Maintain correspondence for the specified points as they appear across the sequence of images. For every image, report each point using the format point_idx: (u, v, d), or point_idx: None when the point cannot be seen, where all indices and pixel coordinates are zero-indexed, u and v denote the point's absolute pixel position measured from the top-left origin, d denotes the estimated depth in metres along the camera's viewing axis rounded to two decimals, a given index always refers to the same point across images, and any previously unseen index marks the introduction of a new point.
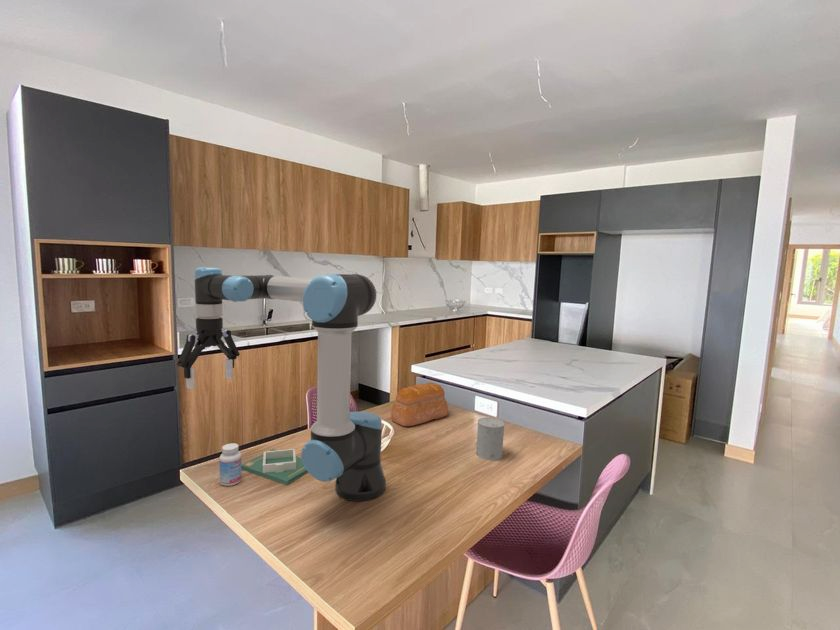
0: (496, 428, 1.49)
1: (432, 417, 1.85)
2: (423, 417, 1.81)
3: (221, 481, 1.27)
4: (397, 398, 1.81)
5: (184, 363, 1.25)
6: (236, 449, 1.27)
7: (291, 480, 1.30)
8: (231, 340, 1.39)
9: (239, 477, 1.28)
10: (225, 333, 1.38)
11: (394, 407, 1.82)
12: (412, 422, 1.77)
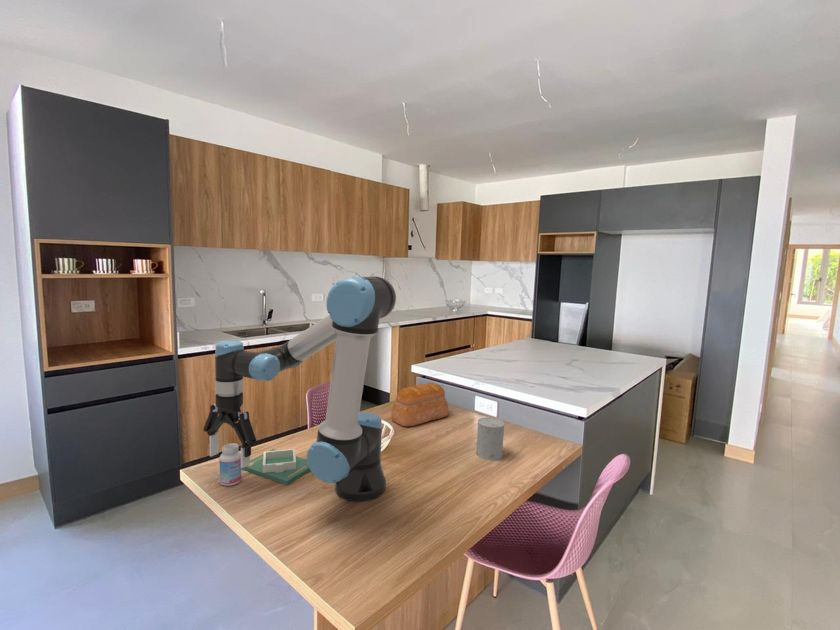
0: (496, 428, 1.49)
1: (432, 417, 1.85)
2: (423, 417, 1.80)
3: (221, 481, 1.27)
4: (397, 398, 1.81)
5: (205, 428, 1.30)
6: (236, 449, 1.27)
7: (291, 480, 1.30)
8: (242, 426, 1.23)
9: (239, 477, 1.28)
10: None
11: (394, 407, 1.82)
12: (412, 423, 1.77)
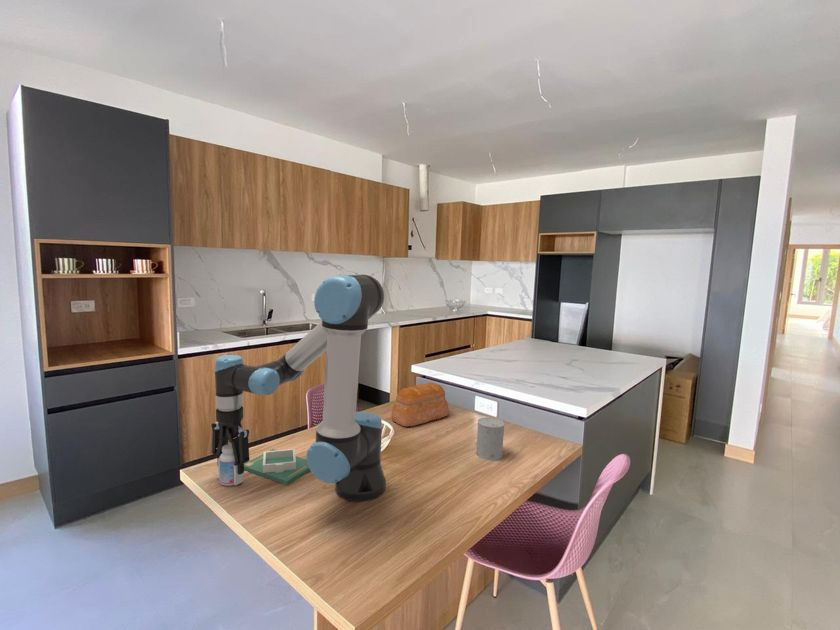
0: (496, 428, 1.49)
1: (433, 417, 1.84)
2: (423, 417, 1.80)
3: (221, 481, 1.27)
4: (397, 398, 1.80)
5: (213, 450, 1.30)
6: None
7: (291, 480, 1.30)
8: (240, 443, 1.24)
9: None
10: None
11: (394, 407, 1.81)
12: (413, 423, 1.77)
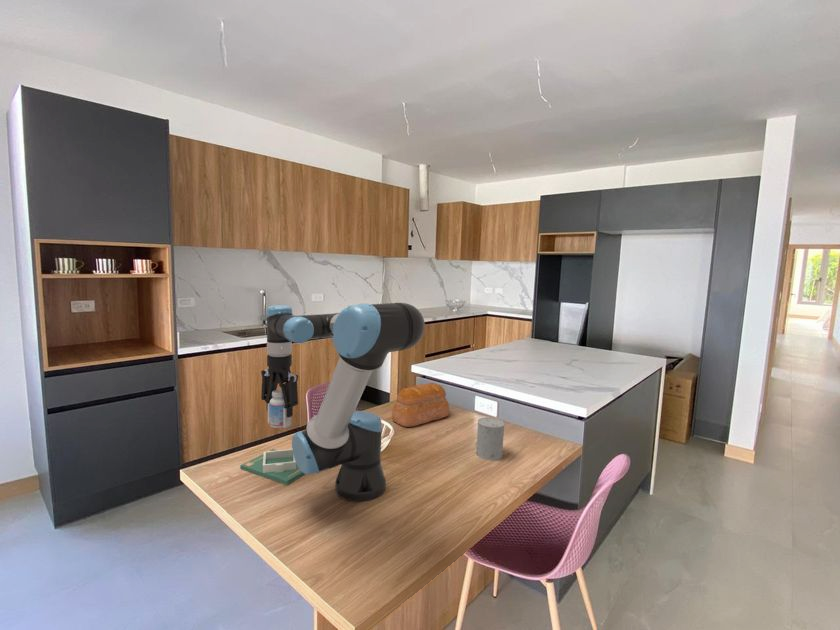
0: (496, 428, 1.49)
1: (433, 417, 1.84)
2: (424, 417, 1.80)
3: (271, 423, 1.35)
4: (398, 398, 1.80)
5: (262, 396, 1.38)
6: None
7: (291, 480, 1.30)
8: (290, 387, 1.32)
9: None
10: None
11: (395, 407, 1.81)
12: (413, 423, 1.77)
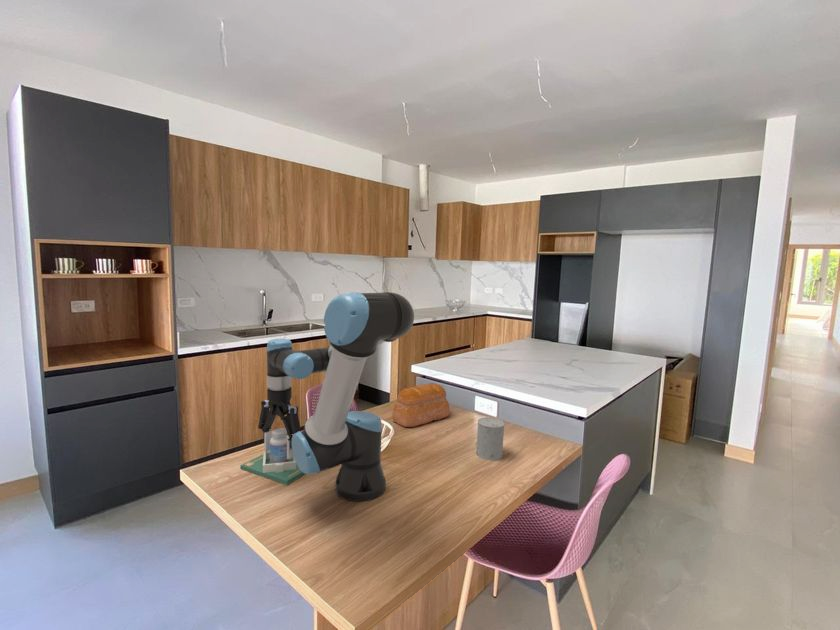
0: (496, 428, 1.49)
1: (434, 418, 1.84)
2: (424, 417, 1.80)
3: (271, 463, 1.36)
4: (398, 399, 1.80)
5: (259, 425, 1.40)
6: (285, 434, 1.37)
7: (291, 480, 1.30)
8: (291, 419, 1.33)
9: (287, 460, 1.38)
10: None
11: (395, 408, 1.81)
12: (414, 423, 1.77)
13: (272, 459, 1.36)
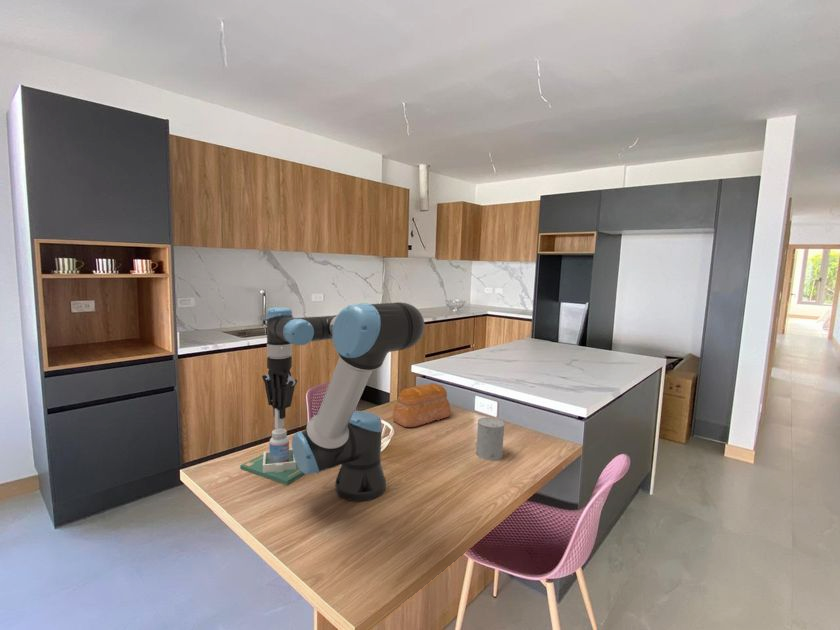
0: (496, 428, 1.49)
1: (434, 418, 1.84)
2: (425, 417, 1.80)
3: (271, 463, 1.36)
4: (399, 399, 1.80)
5: (269, 401, 1.37)
6: (285, 433, 1.37)
7: (291, 480, 1.30)
8: (287, 390, 1.33)
9: (287, 460, 1.38)
10: None
11: (396, 408, 1.81)
12: (414, 423, 1.76)
13: (272, 459, 1.36)
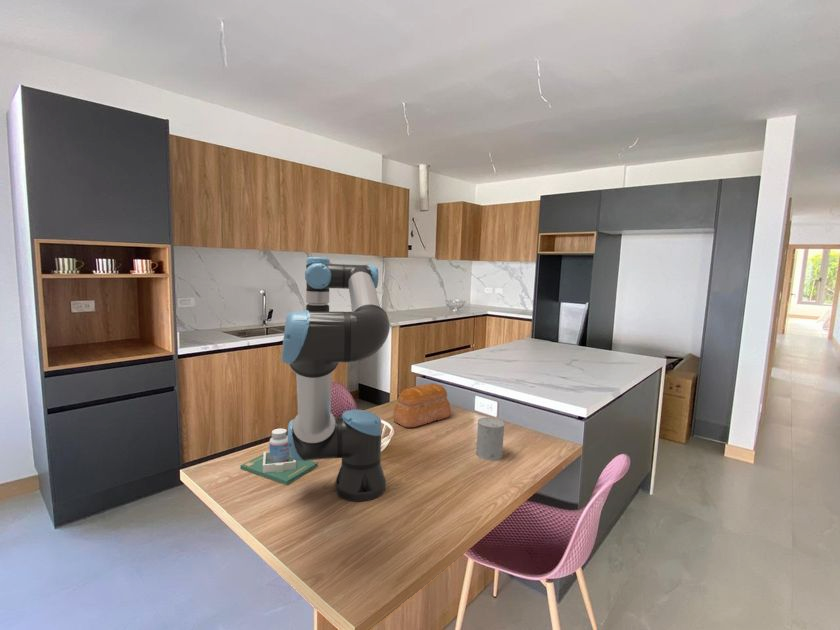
0: (496, 428, 1.49)
1: (435, 418, 1.84)
2: (425, 418, 1.80)
3: (271, 463, 1.36)
4: (399, 399, 1.80)
5: None
6: (285, 433, 1.37)
7: (291, 480, 1.30)
8: None
9: (287, 460, 1.38)
10: None
11: (396, 408, 1.81)
12: (415, 424, 1.76)
13: (272, 459, 1.36)
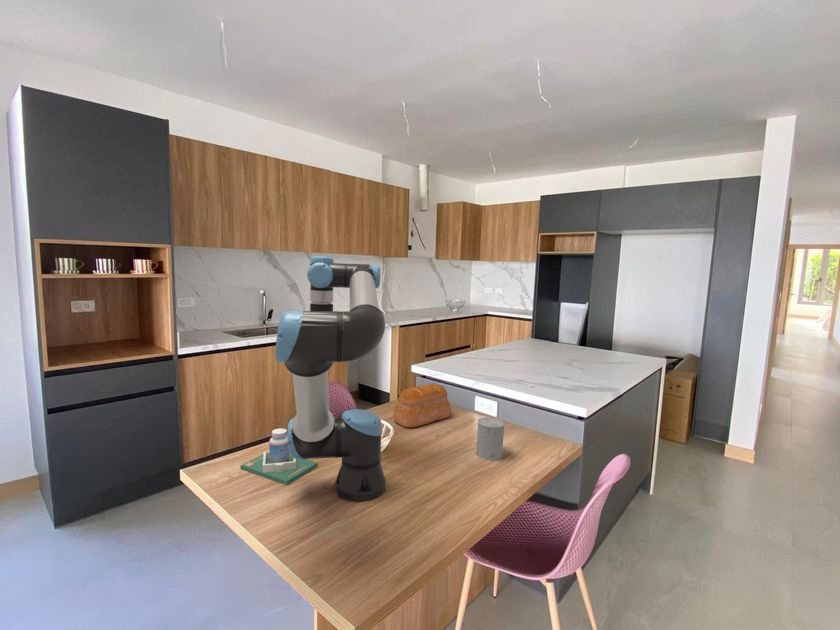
0: (496, 428, 1.49)
1: (435, 418, 1.84)
2: (426, 418, 1.79)
3: (271, 463, 1.36)
4: (400, 399, 1.79)
5: None
6: (285, 433, 1.37)
7: (291, 480, 1.30)
8: None
9: (287, 460, 1.38)
10: None
11: (397, 408, 1.80)
12: (415, 424, 1.76)
13: (272, 459, 1.36)
